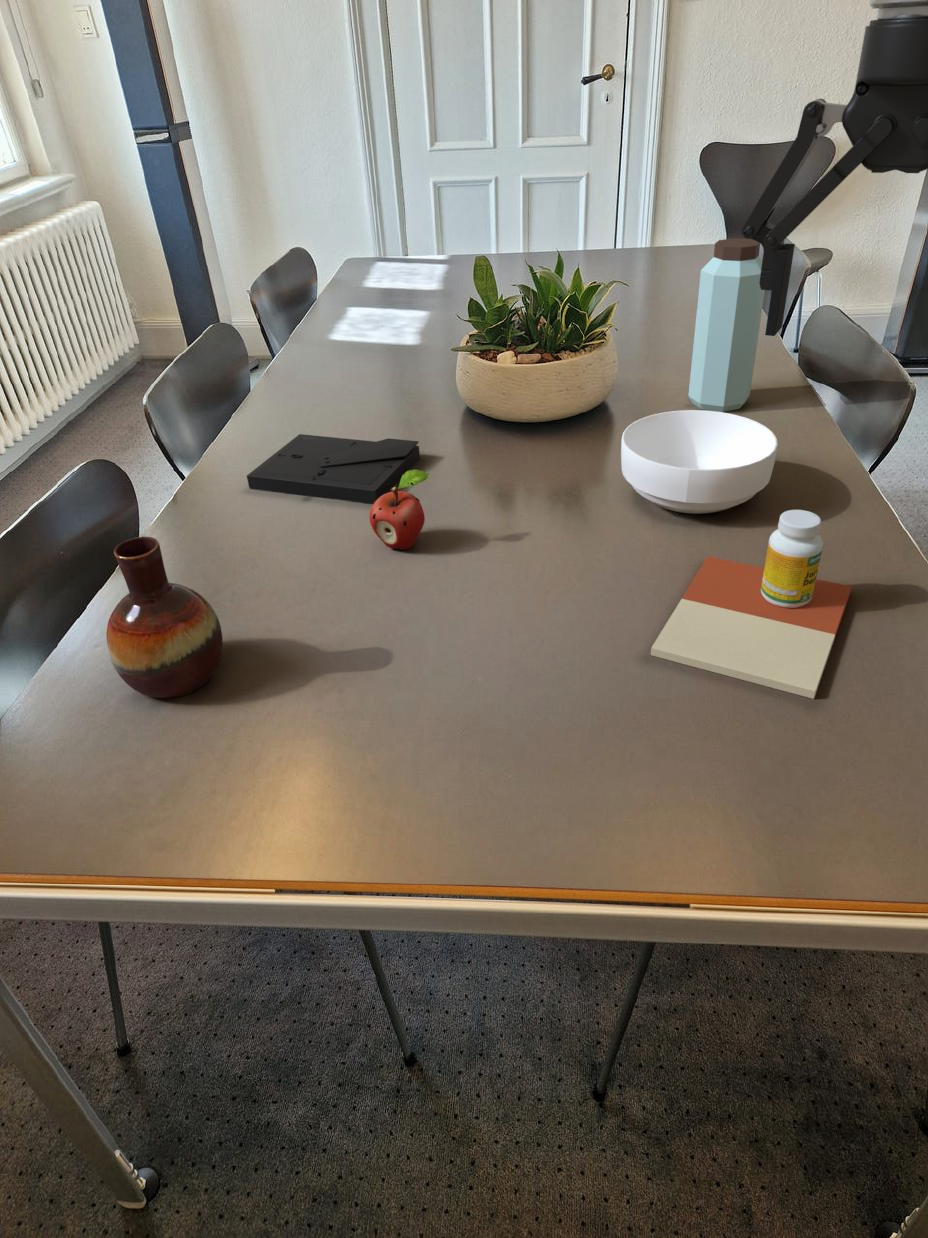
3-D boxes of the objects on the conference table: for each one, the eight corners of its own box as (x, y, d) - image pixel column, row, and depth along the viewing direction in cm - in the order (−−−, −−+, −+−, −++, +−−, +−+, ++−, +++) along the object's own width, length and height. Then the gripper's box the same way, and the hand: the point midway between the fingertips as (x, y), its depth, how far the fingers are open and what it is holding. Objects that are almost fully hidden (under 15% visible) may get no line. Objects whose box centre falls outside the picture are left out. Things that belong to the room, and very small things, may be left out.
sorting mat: (850, 593, 94) (852, 586, 94) (813, 699, 80) (815, 691, 80) (707, 563, 101) (707, 555, 100) (650, 655, 87) (651, 647, 86)
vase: (176, 722, 82) (132, 589, 74) (98, 691, 87) (48, 562, 78) (252, 659, 90) (220, 531, 81) (176, 633, 95) (139, 510, 86)
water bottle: (712, 387, 148) (730, 233, 134) (761, 401, 142) (785, 240, 127) (675, 403, 143) (689, 244, 129) (724, 418, 137) (745, 252, 122)
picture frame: (420, 458, 130) (301, 446, 137) (418, 441, 129) (298, 429, 135) (376, 504, 118) (249, 488, 125) (374, 485, 117) (245, 470, 123)
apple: (388, 564, 105) (379, 491, 99) (364, 542, 110) (355, 471, 104) (442, 546, 108) (436, 473, 102) (417, 525, 113) (410, 455, 107)
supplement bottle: (767, 578, 96) (781, 501, 90) (817, 590, 93) (834, 512, 88) (753, 602, 92) (766, 523, 87) (804, 614, 90) (821, 535, 84)
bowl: (771, 472, 120) (781, 415, 115) (764, 539, 105) (774, 476, 100) (632, 460, 126) (635, 405, 121) (605, 522, 111) (608, 462, 106)
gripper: (1158, -4, 53) (1044, 340, 65) (750, 21, 63) (718, 313, 76) (1169, -3, 47) (1043, 371, 60) (723, 24, 58) (692, 337, 70)
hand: (861, 339), depth 68 cm, fingers open, 13 cm apart
